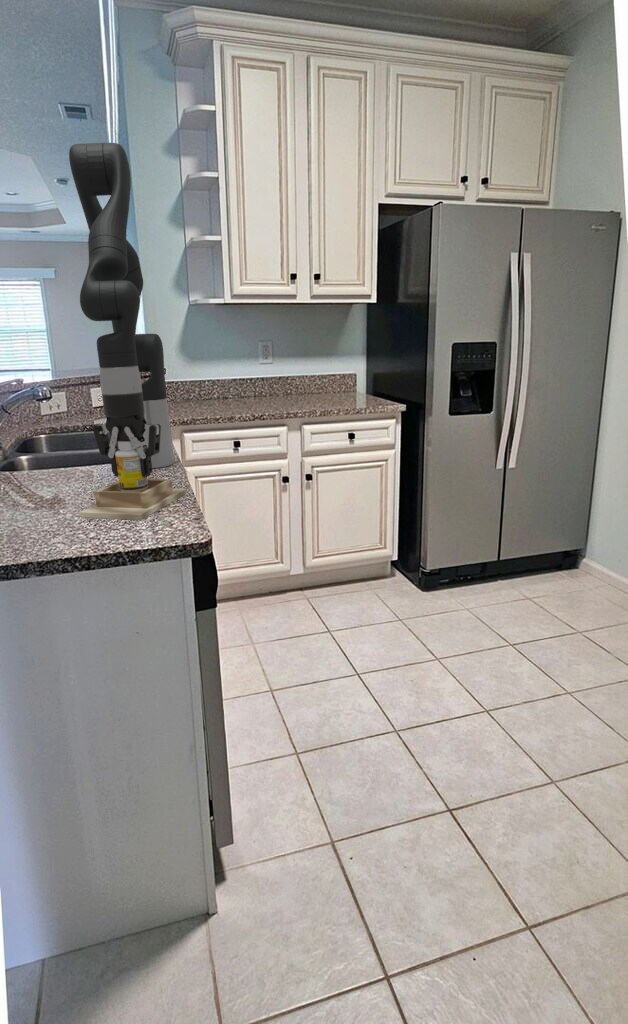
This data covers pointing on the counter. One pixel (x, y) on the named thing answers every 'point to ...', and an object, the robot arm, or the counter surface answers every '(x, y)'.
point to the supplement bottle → (129, 468)
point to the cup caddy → (132, 501)
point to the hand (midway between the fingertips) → (132, 475)
